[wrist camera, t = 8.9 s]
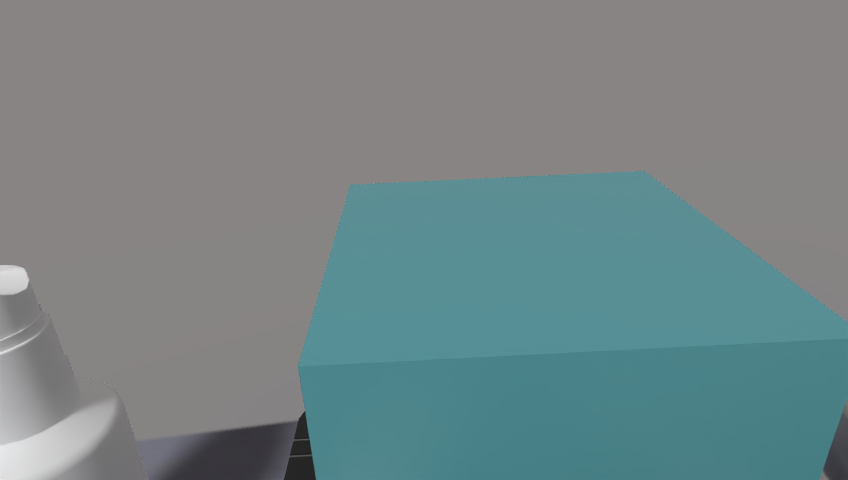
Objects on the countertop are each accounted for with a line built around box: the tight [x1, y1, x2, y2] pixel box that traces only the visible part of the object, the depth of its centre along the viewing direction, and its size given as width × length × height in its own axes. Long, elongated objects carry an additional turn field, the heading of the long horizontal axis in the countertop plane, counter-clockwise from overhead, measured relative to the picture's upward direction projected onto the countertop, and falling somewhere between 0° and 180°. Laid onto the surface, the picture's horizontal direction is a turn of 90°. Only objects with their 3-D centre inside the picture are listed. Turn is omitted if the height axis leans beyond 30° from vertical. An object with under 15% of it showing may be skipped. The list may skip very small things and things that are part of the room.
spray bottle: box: [0, 265, 149, 480], centre depth 24 cm, size 7×7×18 cm
